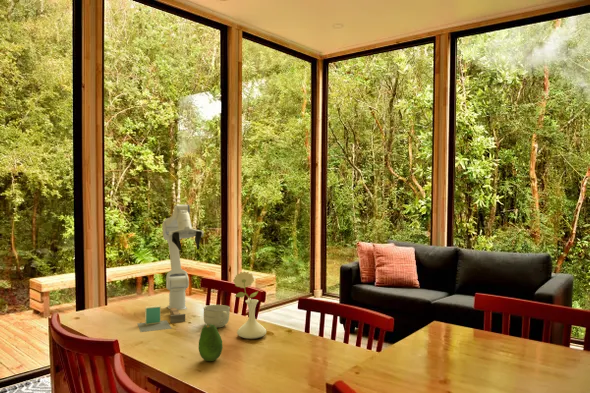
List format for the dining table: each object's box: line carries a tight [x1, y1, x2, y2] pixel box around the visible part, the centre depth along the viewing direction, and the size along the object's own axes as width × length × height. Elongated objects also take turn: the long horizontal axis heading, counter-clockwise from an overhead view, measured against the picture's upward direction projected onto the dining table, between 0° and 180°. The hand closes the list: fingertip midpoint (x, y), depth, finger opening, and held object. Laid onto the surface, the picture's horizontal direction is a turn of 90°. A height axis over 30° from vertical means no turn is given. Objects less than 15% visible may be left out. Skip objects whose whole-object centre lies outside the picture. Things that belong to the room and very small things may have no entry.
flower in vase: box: [232, 271, 267, 340], centre depth 177 cm, size 13×11×25 cm
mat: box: [136, 319, 173, 333], centre depth 188 cm, size 13×12×1 cm
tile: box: [144, 305, 162, 324], centre depth 192 cm, size 2×6×7 cm, turn 114°
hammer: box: [169, 308, 186, 324], centre depth 200 cm, size 13×6×4 cm, turn 24°
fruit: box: [198, 324, 223, 362], centre depth 151 cm, size 8×8×12 cm
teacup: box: [203, 304, 231, 329], centre depth 189 cm, size 14×11×8 cm
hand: (189, 248), depth 192 cm, fingers open, 7 cm apart
